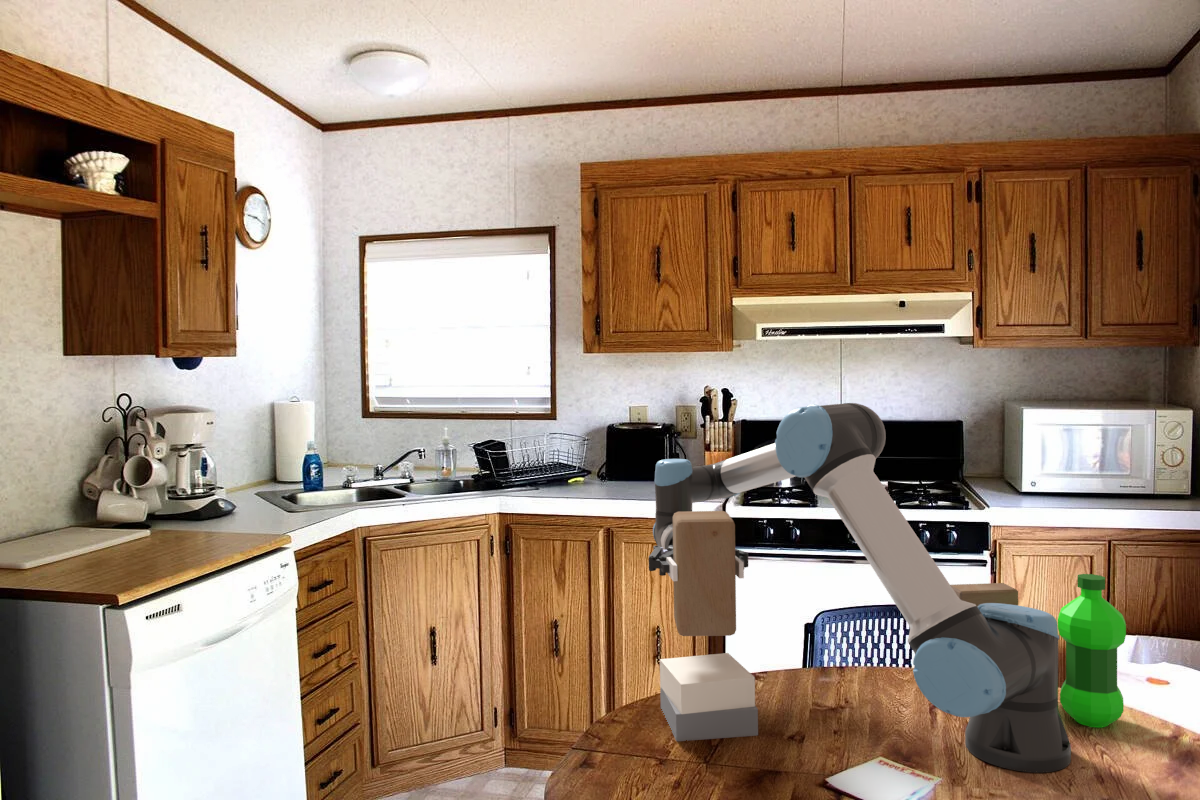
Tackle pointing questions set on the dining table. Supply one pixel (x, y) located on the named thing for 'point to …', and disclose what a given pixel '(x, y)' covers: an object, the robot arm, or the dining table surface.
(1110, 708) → the plastic bottle
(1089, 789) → the dining table surface
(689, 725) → the tower base
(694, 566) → the wooden block
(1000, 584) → the decorative block
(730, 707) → the tower top
